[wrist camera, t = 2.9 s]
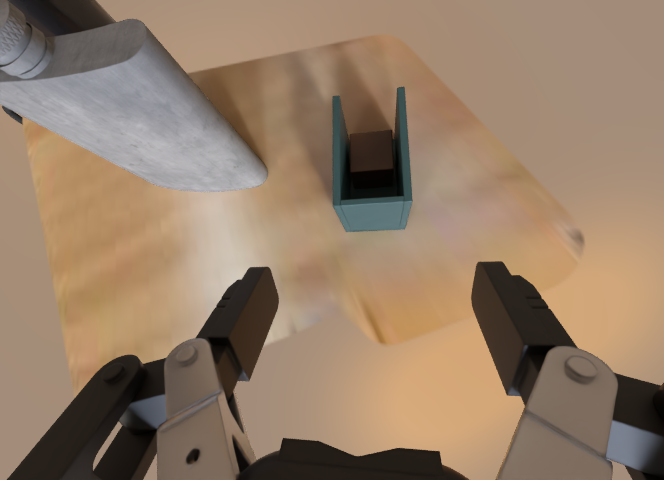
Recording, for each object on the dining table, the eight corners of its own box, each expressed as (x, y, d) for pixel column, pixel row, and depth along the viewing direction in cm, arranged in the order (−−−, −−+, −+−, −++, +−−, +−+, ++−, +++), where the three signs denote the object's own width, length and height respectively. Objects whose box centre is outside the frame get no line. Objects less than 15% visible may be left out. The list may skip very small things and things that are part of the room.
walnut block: (392, 186, 29) (394, 168, 25) (354, 189, 30) (349, 172, 26) (391, 151, 30) (391, 129, 26) (353, 155, 31) (349, 133, 27)
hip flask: (269, 162, 33) (112, -34, 14) (264, 194, 32) (90, 33, 13) (153, 162, 36) (-107, 2, 17) (146, 192, 35) (-136, 59, 16)
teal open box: (405, 229, 29) (412, 201, 21) (346, 232, 30) (332, 206, 22) (399, 140, 31) (404, 86, 23) (345, 146, 32) (332, 95, 24)
